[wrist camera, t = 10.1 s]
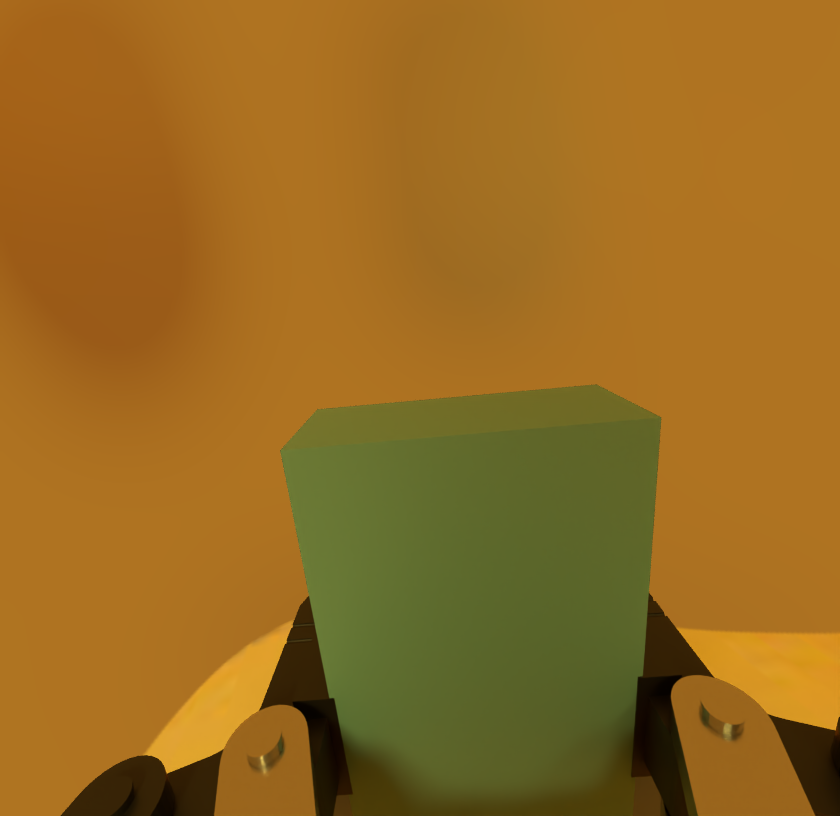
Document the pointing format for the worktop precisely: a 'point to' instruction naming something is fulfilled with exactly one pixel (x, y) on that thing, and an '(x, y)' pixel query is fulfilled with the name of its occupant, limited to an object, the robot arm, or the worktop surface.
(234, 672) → the worktop surface
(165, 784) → the robot arm
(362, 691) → the card
